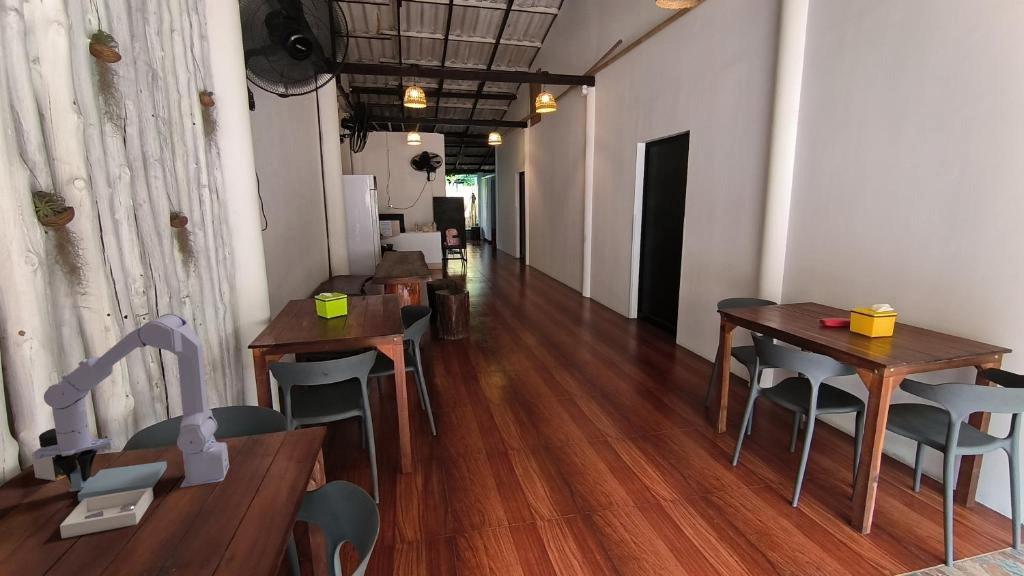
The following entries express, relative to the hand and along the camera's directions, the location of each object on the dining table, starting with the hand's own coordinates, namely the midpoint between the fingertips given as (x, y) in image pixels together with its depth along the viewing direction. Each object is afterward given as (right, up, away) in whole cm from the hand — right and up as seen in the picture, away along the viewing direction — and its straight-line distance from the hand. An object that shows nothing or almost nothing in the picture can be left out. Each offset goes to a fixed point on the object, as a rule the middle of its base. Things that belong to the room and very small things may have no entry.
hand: (80, 480), depth 112 cm
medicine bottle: (-15, -2, +10) cm, 18 cm away
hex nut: (+18, -5, -7) cm, 19 cm away
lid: (+7, -2, +3) cm, 8 cm away
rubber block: (+13, -5, -10) cm, 17 cm away
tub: (+15, -5, -9) cm, 18 cm away
